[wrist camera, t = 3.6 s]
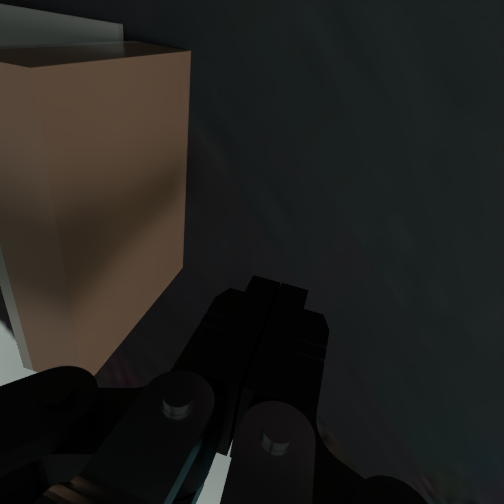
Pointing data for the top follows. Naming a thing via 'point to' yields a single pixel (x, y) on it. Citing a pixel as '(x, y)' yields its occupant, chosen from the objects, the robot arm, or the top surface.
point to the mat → (52, 28)
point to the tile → (89, 192)
